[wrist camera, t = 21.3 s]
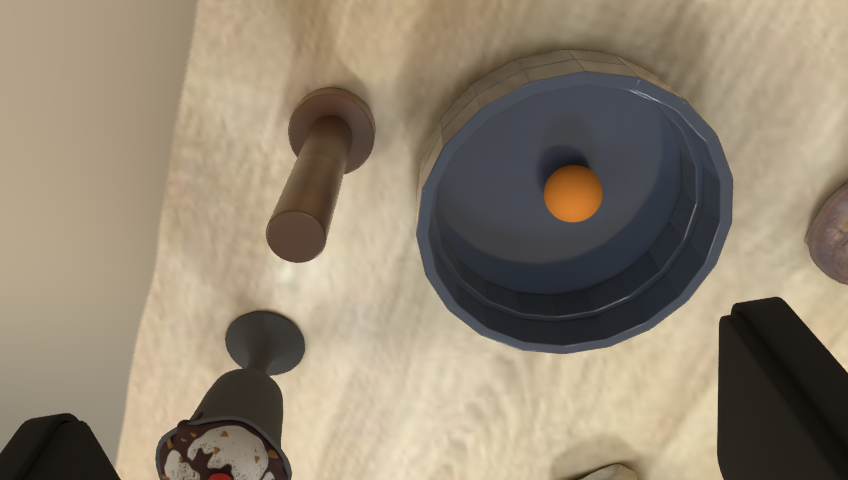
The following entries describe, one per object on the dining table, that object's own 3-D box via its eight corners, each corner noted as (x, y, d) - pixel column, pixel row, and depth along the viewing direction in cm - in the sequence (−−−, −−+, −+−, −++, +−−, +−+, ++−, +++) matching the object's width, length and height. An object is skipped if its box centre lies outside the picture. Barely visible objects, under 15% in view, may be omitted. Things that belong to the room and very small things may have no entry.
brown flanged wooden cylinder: (281, 96, 34) (217, 195, 23) (364, 79, 34) (338, 171, 23) (305, 174, 36) (257, 297, 25) (383, 159, 36) (368, 277, 25)
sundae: (286, 283, 39) (219, 485, 26) (335, 365, 42) (297, 584, 29) (191, 318, 41) (80, 528, 27) (245, 396, 44) (169, 618, 30)
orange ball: (555, 237, 34) (554, 219, 37) (612, 219, 33) (607, 202, 36) (535, 184, 33) (536, 170, 36) (594, 164, 32) (590, 151, 35)
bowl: (391, 80, 34) (386, 110, 29) (693, 19, 32) (736, 41, 28) (445, 320, 41) (448, 373, 36) (695, 278, 39) (729, 328, 35)
